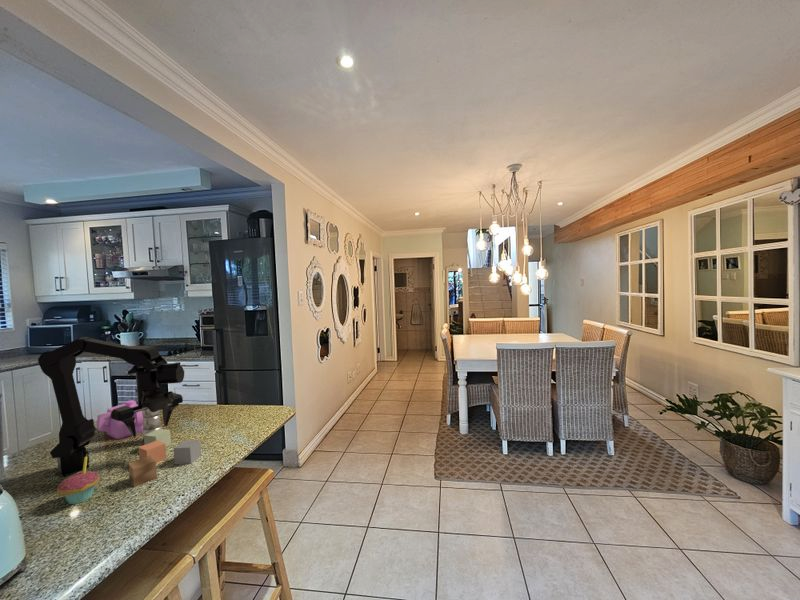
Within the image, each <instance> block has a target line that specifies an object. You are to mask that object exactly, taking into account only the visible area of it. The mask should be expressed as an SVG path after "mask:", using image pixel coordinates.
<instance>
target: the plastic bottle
mask: <svg viewBox="0 0 800 600" xmlns="http://www.w3.org/2000/svg"><path fill="white" fill-rule="evenodd" d="M142 408H143V407H142ZM142 414H143V432H142V435H141V436H142V439H143V440H144V435H146V434H148V433H150V432H152V431H155V430H157V429H163V426H162V421H161V410H158V411H156V412H151V411H150V410H149V409H146V410H143V411H142Z"/></svg>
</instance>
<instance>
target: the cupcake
mask: <svg viewBox="0 0 800 600" xmlns="http://www.w3.org/2000/svg"><path fill="white" fill-rule="evenodd" d="M87 458H88V457H87V454H86V457H84V465H83V470H80V471H78V472H75V473H73V474H71V475H70V476H68V477H67V478H65V479H63V480H62V481H61V482H60V483H59V484H58V486H57V489H56V493H57V494H58V495H61V496H64V498H65V499H66V501H67V503H68V504H70V505H76V504H80V503H83V502H85V501H87V500H88V499H90V498H91V497H92V496H93V495H94V494H93V493H94V490H95V487H96V485H97V484H98V483H99V482H100V480H101V477H100V474H99V472H96V471H94V470H87V468H86V466H87Z"/></svg>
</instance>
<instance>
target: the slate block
mask: <svg viewBox="0 0 800 600" xmlns="http://www.w3.org/2000/svg"><path fill="white" fill-rule="evenodd" d="M201 448H202V447H201V439H188V440H187V439H185V440H182V441H181V442H180V443H178V444H177V445H176V446H175V447H173V448H172V449H173V459H174V460H173V463H174V465H188V464H189V465H192V464H193V463H195V461H197V460H198V459H199V458H200V457H202V449H201Z"/></svg>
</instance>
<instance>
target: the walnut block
mask: <svg viewBox="0 0 800 600" xmlns="http://www.w3.org/2000/svg"><path fill="white" fill-rule="evenodd" d="M157 473H158V472H157V463H156V461H155V460H154V459H153V458H152V457H151V456H148V457H145V458H142V459H139V458H138V459H136V460H134V461H131V462H128V475H129V482H130V483H131V485H132V484H133V485H132V486H133V488H135V487H136V486H137V487H138V485H139V486H141V484H142V485H145V484H146V482H147V483H149V482H151V480H152V481H155V480H157V479H158V475H157ZM154 479H155V480H154ZM148 481H149V482H148Z"/></svg>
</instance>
